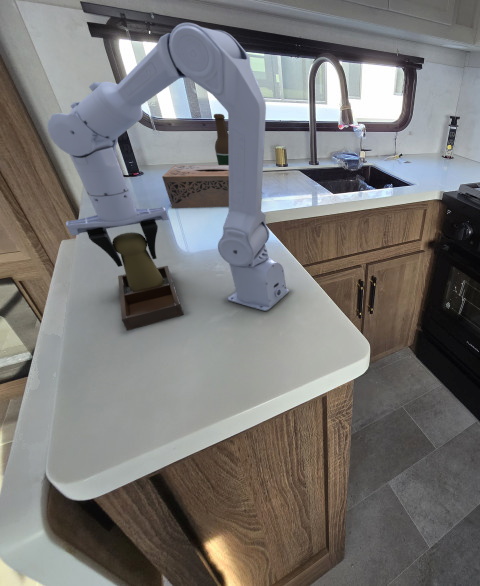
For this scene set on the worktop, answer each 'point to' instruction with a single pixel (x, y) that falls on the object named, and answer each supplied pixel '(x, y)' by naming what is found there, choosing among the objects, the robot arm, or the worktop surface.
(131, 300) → the caddy
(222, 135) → the brown beer bottle
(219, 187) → the tissue box cover
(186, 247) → the worktop surface
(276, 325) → the worktop surface
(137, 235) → the cork
